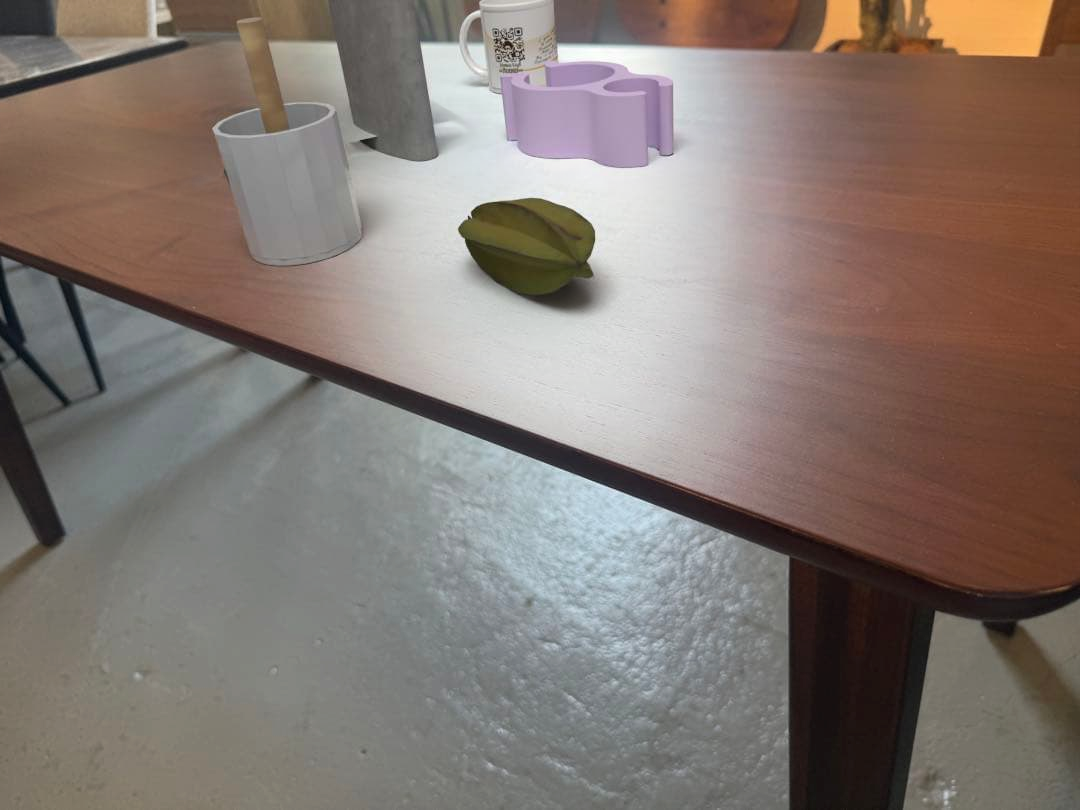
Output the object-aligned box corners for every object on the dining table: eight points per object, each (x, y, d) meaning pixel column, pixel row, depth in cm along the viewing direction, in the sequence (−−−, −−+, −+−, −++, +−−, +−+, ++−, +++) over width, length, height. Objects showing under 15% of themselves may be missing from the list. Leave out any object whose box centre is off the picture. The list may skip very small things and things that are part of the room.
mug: (513, 99, 113) (504, 8, 107) (462, 87, 121) (450, 2, 115) (574, 81, 118) (568, -7, 112) (521, 71, 126) (512, -12, 120)
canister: (260, 276, 72) (221, 145, 66) (242, 238, 80) (205, 118, 74) (375, 246, 75) (348, 118, 69) (347, 212, 83) (320, 95, 77)
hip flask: (443, 155, 95) (411, -47, 84) (412, 165, 93) (375, -41, 82) (375, 130, 106) (339, -51, 95) (345, 139, 104) (305, -45, 93)
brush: (287, 248, 75) (226, 27, 65) (278, 234, 78) (219, 20, 68) (332, 237, 76) (279, 18, 66) (322, 223, 79) (270, 12, 69)
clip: (699, 143, 90) (700, 74, 86) (616, 177, 84) (613, 105, 80) (569, 116, 103) (565, 56, 100) (489, 144, 97) (481, 80, 93)
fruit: (610, 250, 70) (606, 170, 66) (594, 321, 60) (588, 232, 56) (474, 253, 72) (463, 175, 68) (436, 322, 62) (421, 236, 58)
